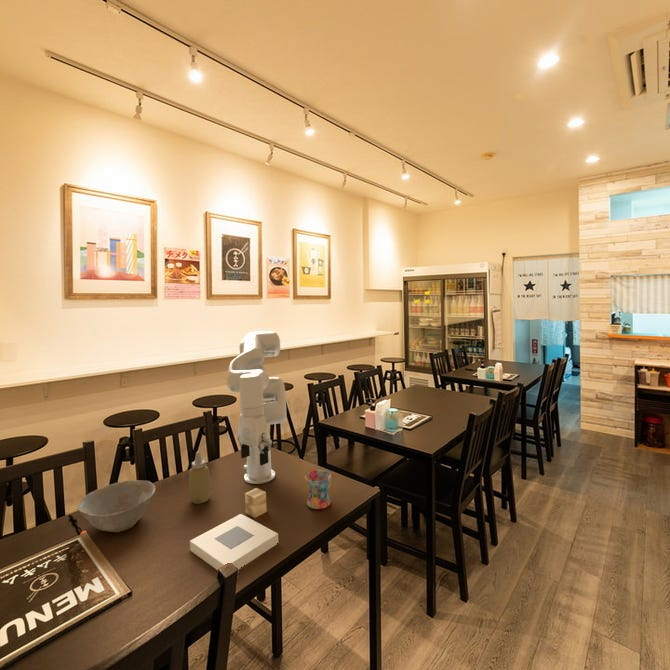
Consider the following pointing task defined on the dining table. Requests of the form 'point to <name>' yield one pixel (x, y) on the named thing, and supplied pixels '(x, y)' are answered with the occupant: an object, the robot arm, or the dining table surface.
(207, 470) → the squeeze bottle
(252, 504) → the maple block
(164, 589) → the dining table surface
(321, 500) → the mug
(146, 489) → the ceramic bowl
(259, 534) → the base board
